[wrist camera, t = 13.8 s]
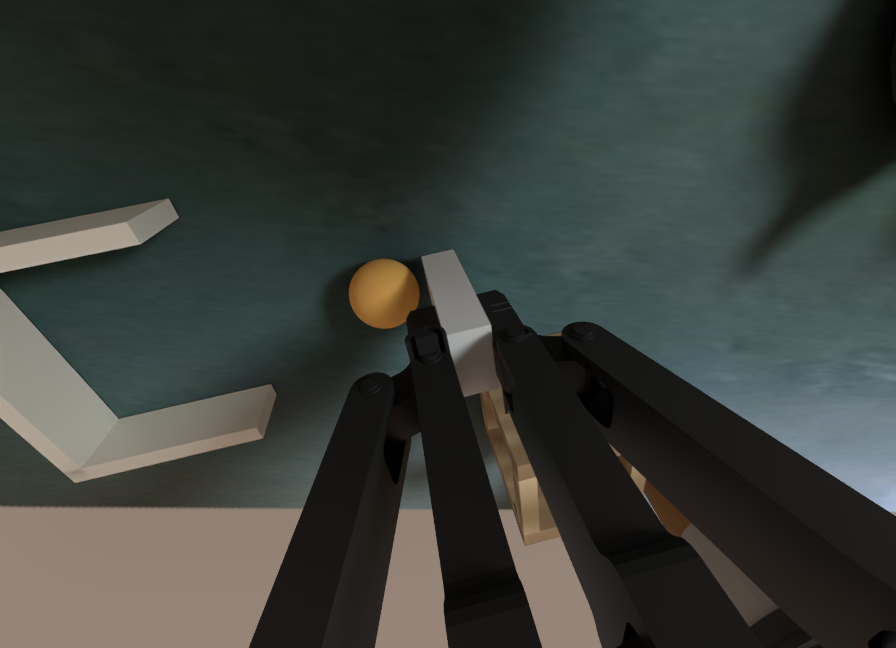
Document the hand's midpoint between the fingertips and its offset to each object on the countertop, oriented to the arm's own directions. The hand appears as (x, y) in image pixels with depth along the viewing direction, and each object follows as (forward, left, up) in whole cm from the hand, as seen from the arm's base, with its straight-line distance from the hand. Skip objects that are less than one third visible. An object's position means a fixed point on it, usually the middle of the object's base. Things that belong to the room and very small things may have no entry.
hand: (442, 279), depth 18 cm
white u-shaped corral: (0, -15, -1) cm, 15 cm away
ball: (0, -3, -1) cm, 3 cm away
